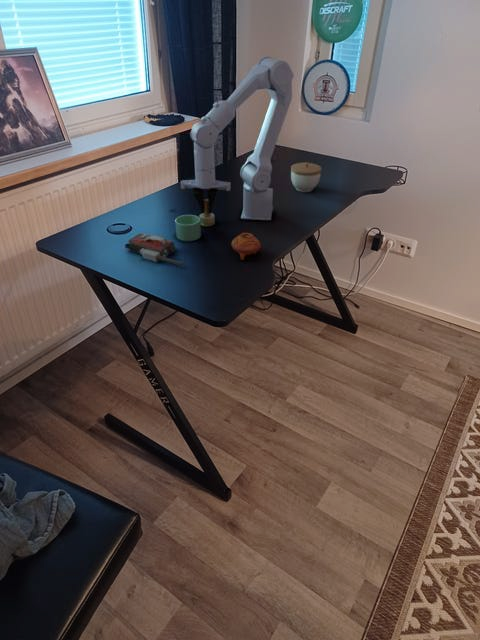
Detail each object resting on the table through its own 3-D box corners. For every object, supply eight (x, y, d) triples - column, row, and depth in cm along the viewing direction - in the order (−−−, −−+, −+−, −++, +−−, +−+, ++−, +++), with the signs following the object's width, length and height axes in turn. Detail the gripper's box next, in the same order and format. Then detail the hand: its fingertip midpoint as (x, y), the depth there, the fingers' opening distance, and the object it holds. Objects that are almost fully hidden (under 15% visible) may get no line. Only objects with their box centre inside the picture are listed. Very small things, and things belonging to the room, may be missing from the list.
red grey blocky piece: (120, 253, 126) (181, 270, 118) (117, 239, 123) (179, 255, 116) (139, 240, 132) (198, 256, 125) (137, 226, 129) (198, 241, 122)
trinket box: (315, 196, 160) (318, 169, 154) (286, 192, 163) (287, 165, 157) (322, 185, 168) (325, 159, 162) (293, 182, 171) (295, 156, 165)
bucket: (202, 230, 137) (202, 215, 134) (198, 241, 131) (197, 225, 128) (179, 229, 138) (178, 214, 135) (174, 240, 132) (172, 224, 129)
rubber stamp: (215, 220, 143) (215, 197, 139) (213, 226, 139) (212, 203, 135) (201, 219, 143) (200, 196, 139) (198, 226, 140) (197, 202, 135)
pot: (223, 255, 124) (226, 231, 121) (243, 252, 130) (246, 228, 127) (245, 264, 120) (249, 239, 117) (264, 260, 125) (268, 236, 122)
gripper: (231, 163, 134) (232, 207, 142) (183, 161, 135) (186, 205, 143) (228, 171, 128) (229, 217, 136) (177, 169, 129) (181, 214, 137)
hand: (206, 211), depth 139 cm, fingers closed on rubber stamp
